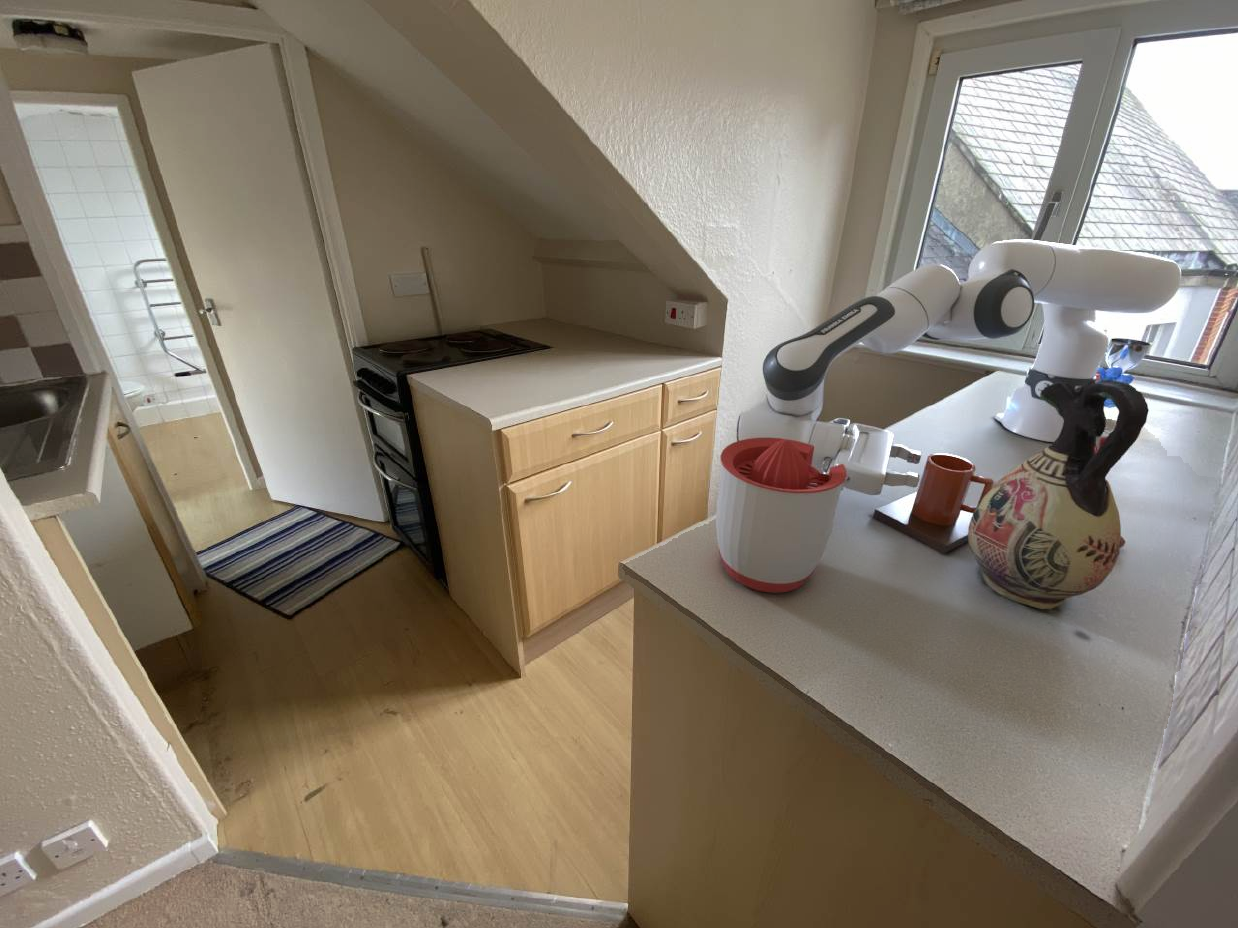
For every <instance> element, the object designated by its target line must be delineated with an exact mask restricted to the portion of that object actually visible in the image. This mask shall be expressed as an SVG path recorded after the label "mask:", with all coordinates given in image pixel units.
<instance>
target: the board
mask: <svg viewBox="0 0 1238 928" xmlns="http://www.w3.org/2000/svg"><path fill="white" fill-rule="evenodd" d="M916 493H917V491H915V492H913V493H910V494H908V495H905V496H904V497H901V498H899V499H896V500H894V501H891V502H889V503H887V504H884V505H882V506H880V507H877V508H875V509H874V512H873V516H872V517H873V518H875V519H877V520H879V521H880V522H883V523H884V524H886V525H887V526H890V527H892V528H894V529H896V530H898V531H899V532H901V533H903V534H906V535H907V536H909V537H911V538H913V539H915V540H917V541H918V542H921V543H923V544H924V545H926V546H928V547H930V548H932V549H934V550H936V551H938V552H940V553H942V554H947V553H948V552H950V551H952V550H954V549H956V548H958V547H960V546H962V545H964V544H965V543H967V542H968V529H969V524H970V520H971V517H972V515H973V513H970V512H965V511H961V512H960V515H959V518H958V519H957V522H956V523H955V524H953V525H946V526H945V525H936V524H932V523H929V522H926V521H924V520H922V519H920V518H918V517H917V516H916V515H914V513H913V512H912V507H913V503H914V500H915V496H916Z"/></svg>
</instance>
